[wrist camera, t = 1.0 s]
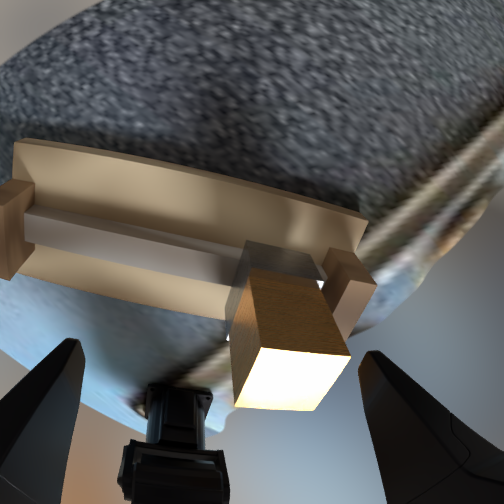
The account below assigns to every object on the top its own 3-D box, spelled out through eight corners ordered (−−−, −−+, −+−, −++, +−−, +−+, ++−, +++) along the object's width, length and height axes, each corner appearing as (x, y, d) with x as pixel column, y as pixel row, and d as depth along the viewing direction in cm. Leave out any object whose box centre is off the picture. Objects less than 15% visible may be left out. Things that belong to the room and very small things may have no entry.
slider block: (282, 317, 22) (309, 415, 15) (224, 307, 21) (231, 411, 14) (309, 254, 20) (356, 348, 13) (246, 239, 19) (265, 338, 12)
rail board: (309, 321, 27) (327, 369, 22) (24, 262, 21) (-8, 303, 16) (360, 212, 22) (396, 249, 17) (25, 137, 17) (-22, 157, 12)
